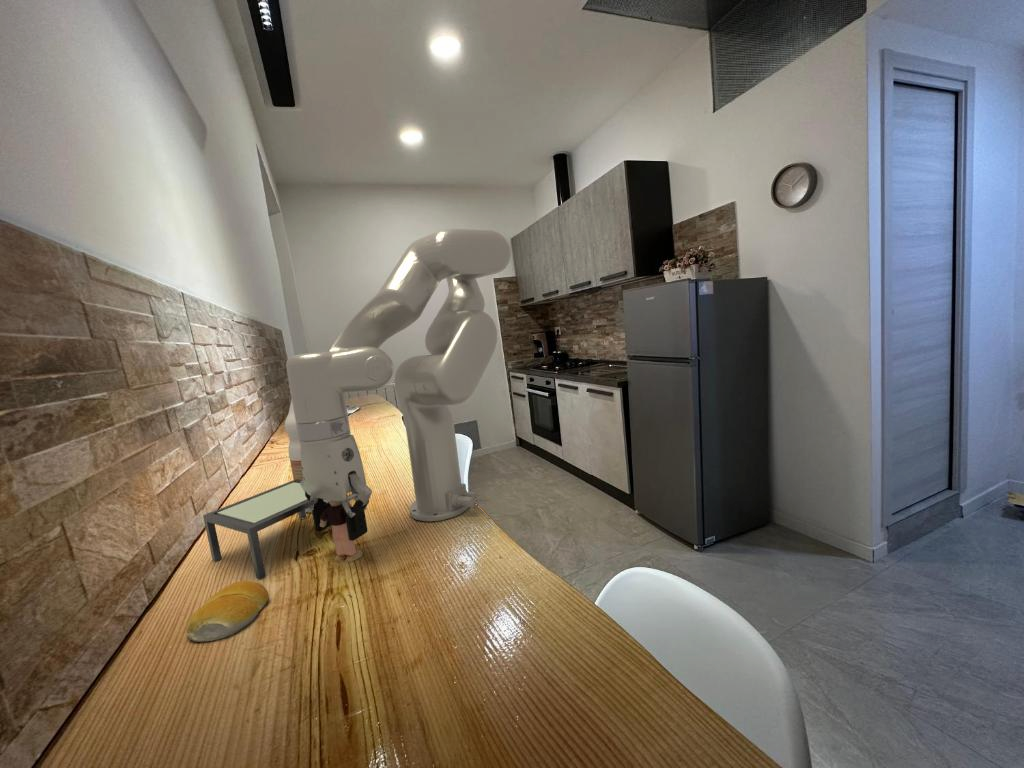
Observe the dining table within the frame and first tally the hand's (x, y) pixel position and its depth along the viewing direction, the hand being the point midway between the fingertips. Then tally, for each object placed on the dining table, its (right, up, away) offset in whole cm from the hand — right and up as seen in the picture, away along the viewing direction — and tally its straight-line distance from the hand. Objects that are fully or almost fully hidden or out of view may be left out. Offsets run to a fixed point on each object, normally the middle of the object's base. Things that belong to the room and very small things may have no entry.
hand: (341, 531), depth 64 cm
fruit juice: (-15, -3, +25) cm, 29 cm away
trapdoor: (-14, 0, +7) cm, 16 cm away
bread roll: (-10, -8, -12) cm, 17 cm away
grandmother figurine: (0, -5, +1) cm, 5 cm away
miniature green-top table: (-14, -5, +8) cm, 17 cm away
